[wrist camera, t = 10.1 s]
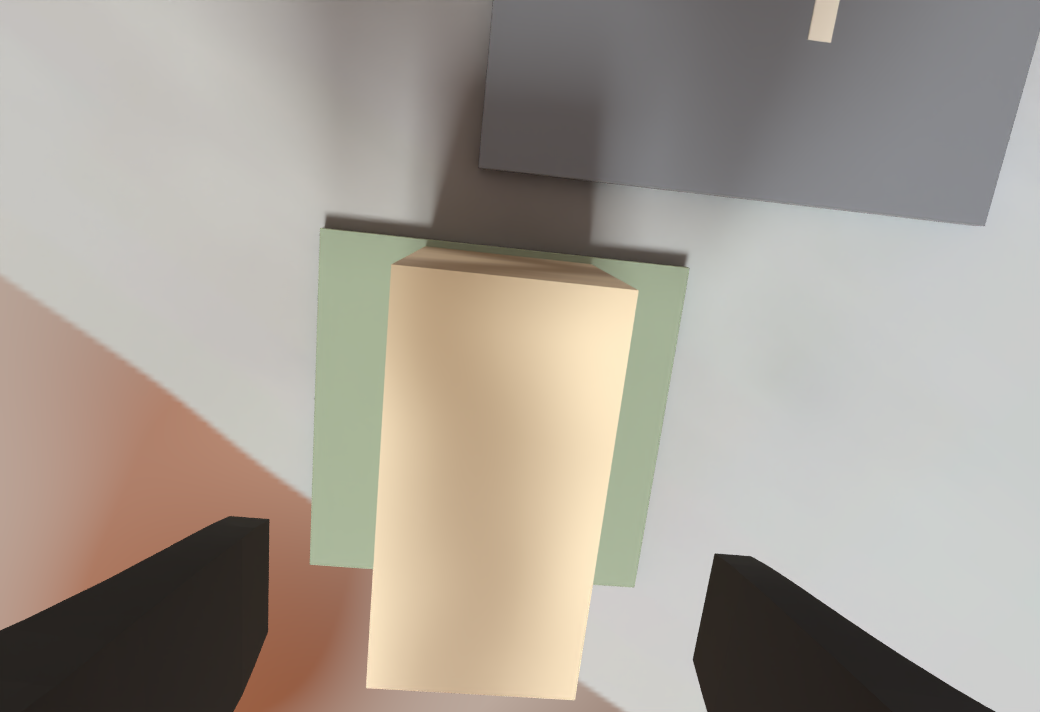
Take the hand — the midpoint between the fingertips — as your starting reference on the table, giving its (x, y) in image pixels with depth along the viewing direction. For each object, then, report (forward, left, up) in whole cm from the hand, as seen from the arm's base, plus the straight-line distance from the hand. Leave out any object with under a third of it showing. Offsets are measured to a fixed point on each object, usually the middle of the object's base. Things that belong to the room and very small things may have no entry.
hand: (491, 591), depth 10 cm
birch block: (0, 0, -8) cm, 8 cm away
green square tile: (0, 0, -8) cm, 8 cm away
